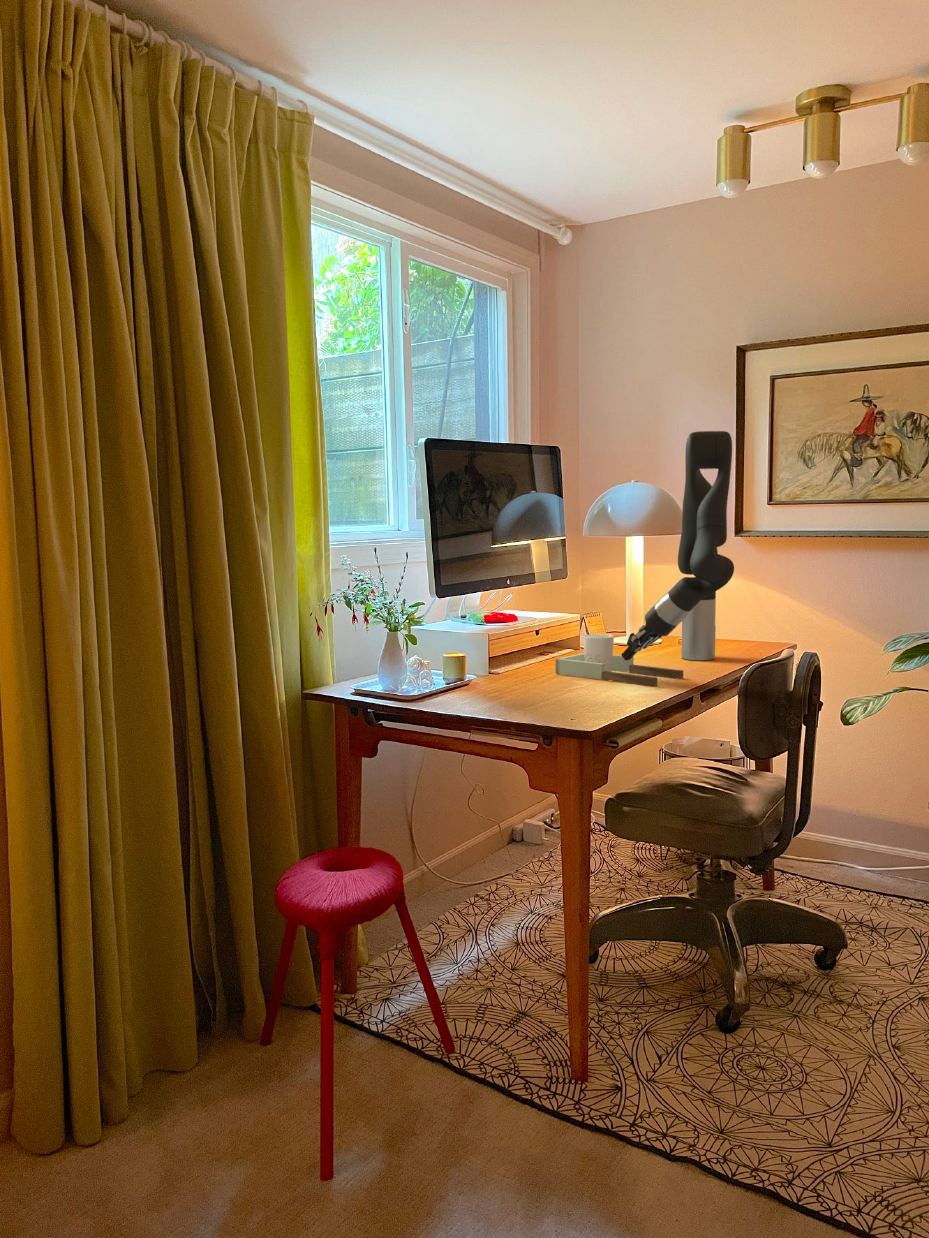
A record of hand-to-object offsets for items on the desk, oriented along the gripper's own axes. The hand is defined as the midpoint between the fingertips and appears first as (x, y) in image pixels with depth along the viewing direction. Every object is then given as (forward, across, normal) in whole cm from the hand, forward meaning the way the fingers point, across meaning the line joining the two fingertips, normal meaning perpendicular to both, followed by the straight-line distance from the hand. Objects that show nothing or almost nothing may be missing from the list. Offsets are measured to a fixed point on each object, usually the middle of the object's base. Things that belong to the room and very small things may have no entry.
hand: (624, 657), depth 241 cm
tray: (+10, 0, -3) cm, 10 cm away
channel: (0, 0, +7) cm, 7 cm away
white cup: (+9, 0, -2) cm, 10 cm away
